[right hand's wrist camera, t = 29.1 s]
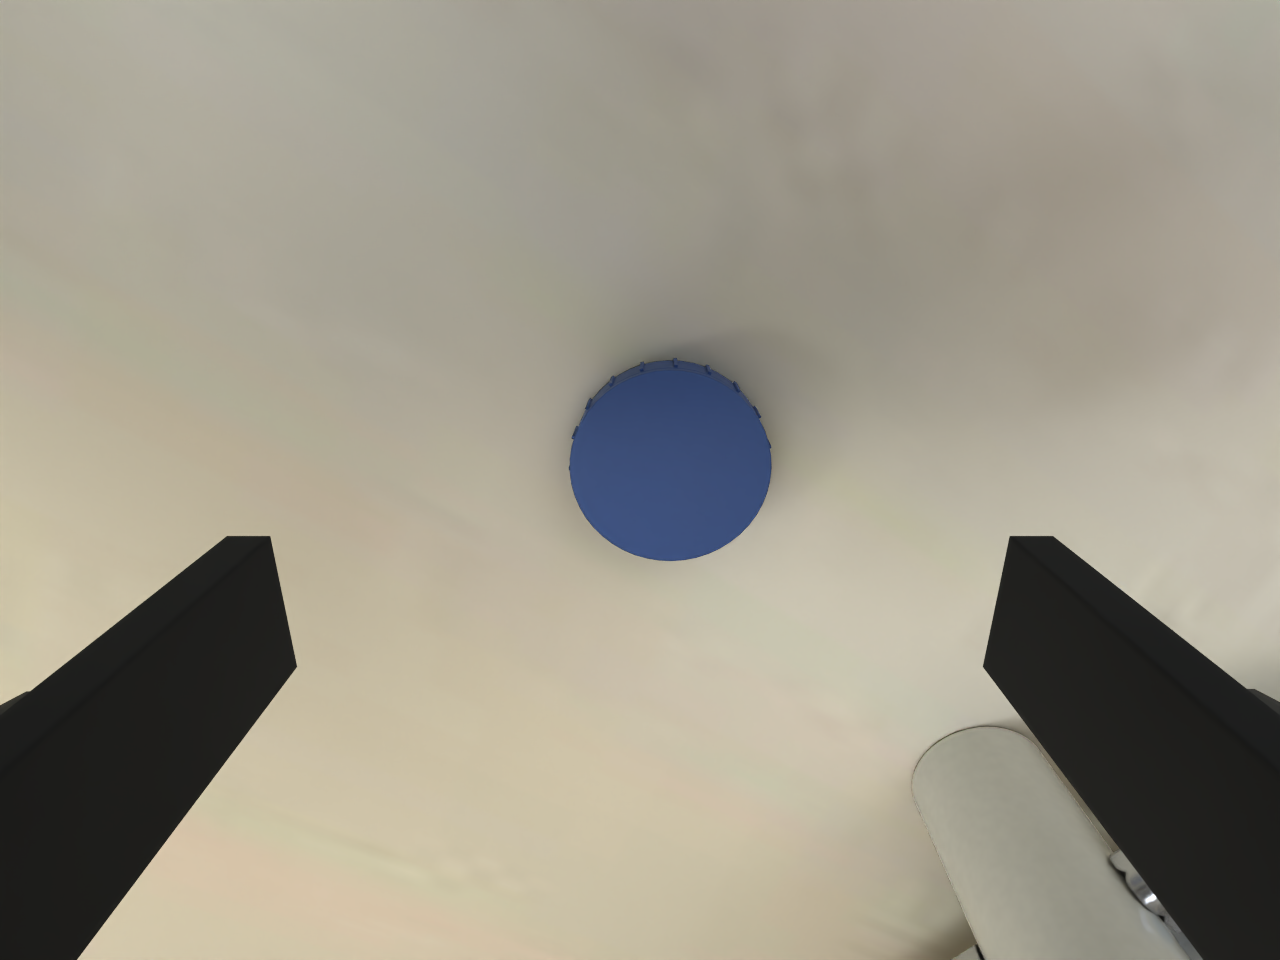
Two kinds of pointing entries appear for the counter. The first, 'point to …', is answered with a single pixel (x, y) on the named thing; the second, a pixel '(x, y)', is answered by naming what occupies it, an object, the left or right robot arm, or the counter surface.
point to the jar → (1029, 856)
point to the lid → (670, 461)
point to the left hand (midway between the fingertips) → (1048, 921)
